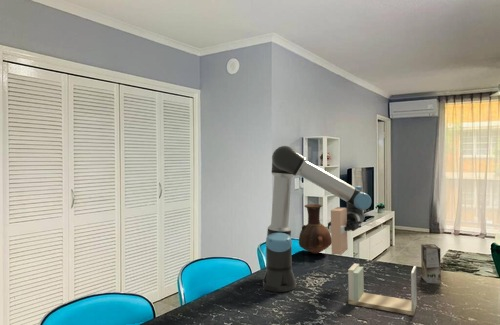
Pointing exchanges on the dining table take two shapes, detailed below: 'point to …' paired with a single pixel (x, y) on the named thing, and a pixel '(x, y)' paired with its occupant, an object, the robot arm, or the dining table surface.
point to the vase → (314, 232)
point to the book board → (385, 303)
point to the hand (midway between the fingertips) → (335, 230)
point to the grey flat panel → (413, 288)
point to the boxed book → (338, 230)
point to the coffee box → (431, 263)
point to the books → (355, 282)
